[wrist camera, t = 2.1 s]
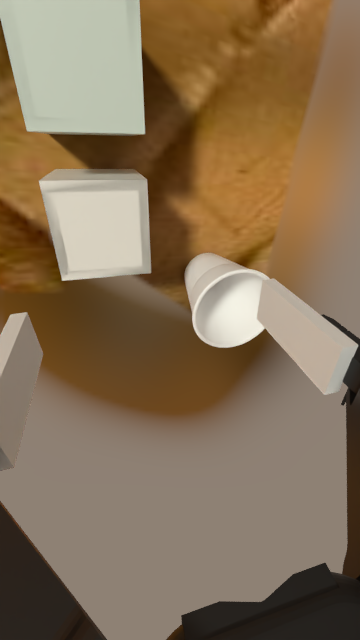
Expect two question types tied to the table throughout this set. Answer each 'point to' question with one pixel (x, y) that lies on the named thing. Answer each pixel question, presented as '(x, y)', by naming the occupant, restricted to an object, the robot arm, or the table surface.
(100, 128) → the sage cover
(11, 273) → the table surface
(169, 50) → the table surface
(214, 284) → the cup
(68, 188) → the white cover
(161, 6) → the table surface
